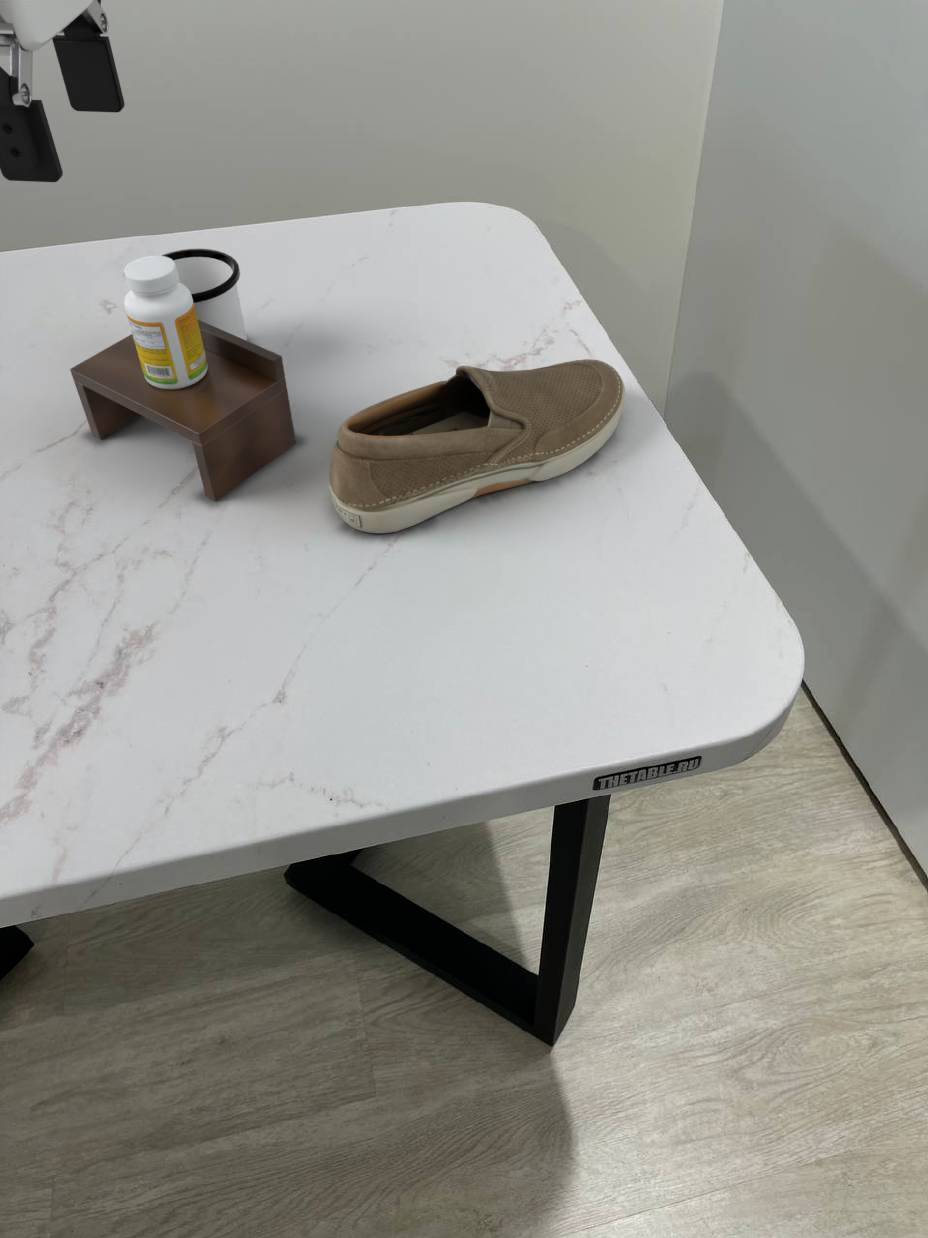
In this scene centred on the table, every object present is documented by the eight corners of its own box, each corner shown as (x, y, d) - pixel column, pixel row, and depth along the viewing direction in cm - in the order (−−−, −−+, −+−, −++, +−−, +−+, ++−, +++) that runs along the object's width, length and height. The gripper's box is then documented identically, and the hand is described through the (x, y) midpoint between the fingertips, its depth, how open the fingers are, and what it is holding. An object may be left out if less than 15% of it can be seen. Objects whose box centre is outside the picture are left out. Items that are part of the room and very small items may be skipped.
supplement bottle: (198, 350, 89) (174, 244, 82) (216, 381, 86) (192, 273, 79) (137, 365, 88) (107, 259, 80) (153, 397, 84) (123, 290, 77)
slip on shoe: (585, 378, 98) (592, 293, 91) (658, 438, 91) (671, 351, 85) (306, 480, 88) (291, 392, 81) (364, 556, 81) (354, 467, 74)
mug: (262, 372, 99) (247, 287, 92) (165, 391, 97) (142, 305, 90) (241, 312, 107) (226, 229, 100) (151, 328, 105) (129, 244, 98)
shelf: (215, 501, 86) (193, 413, 79) (92, 435, 92) (62, 348, 86) (296, 442, 91) (281, 355, 85) (174, 384, 98) (152, 299, 91)
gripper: (-37, -274, 52) (63, 85, 64) (-234, -220, 40) (-65, 207, 52) (105, -274, 51) (178, 89, 63) (-53, -219, 39) (75, 213, 52)
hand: (68, 142), depth 58 cm, fingers open, 9 cm apart
